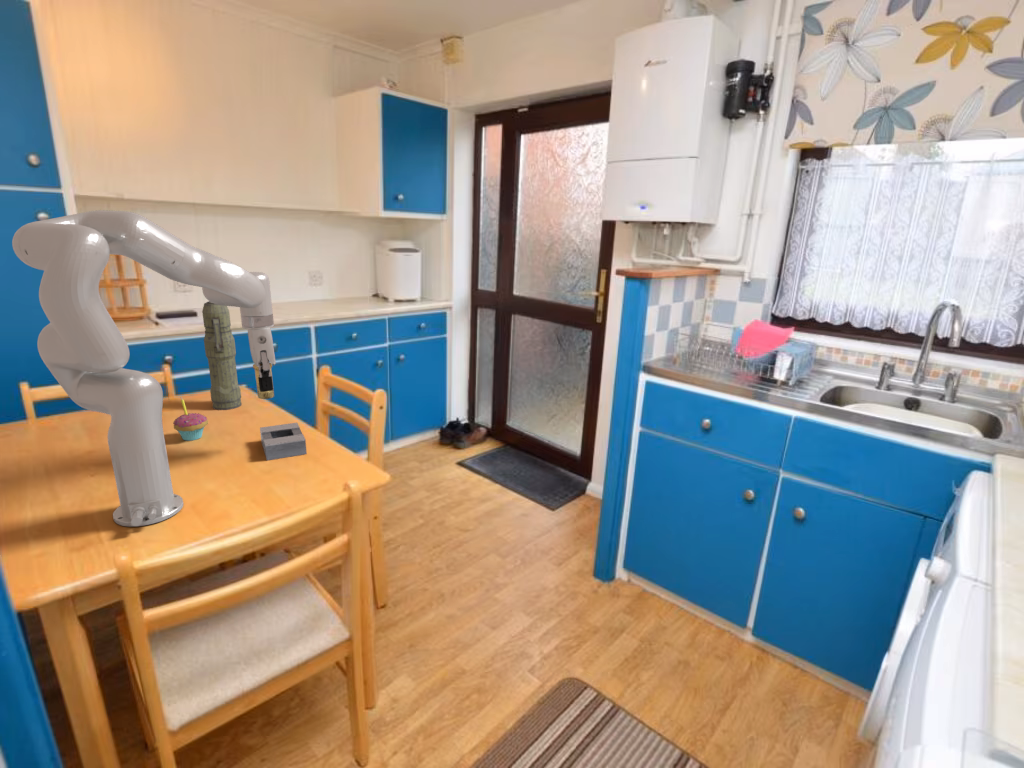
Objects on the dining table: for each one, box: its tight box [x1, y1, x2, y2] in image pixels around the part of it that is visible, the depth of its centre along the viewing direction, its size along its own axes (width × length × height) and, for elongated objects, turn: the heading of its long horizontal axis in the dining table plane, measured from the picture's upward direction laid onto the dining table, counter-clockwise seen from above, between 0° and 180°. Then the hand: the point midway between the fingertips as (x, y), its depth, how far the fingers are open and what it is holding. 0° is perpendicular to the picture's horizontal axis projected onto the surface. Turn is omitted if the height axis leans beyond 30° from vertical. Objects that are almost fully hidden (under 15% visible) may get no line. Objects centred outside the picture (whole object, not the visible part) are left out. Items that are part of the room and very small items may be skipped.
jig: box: [259, 422, 308, 461], centre depth 149 cm, size 14×10×4 cm
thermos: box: [201, 300, 243, 411], centre depth 175 cm, size 9×12×35 cm
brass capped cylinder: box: [252, 361, 275, 400], centre depth 143 cm, size 5×5×9 cm
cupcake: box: [172, 396, 209, 442], centre depth 152 cm, size 9×8×12 cm
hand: (265, 387), depth 143 cm, fingers closed on brass capped cylinder, 4 cm apart
